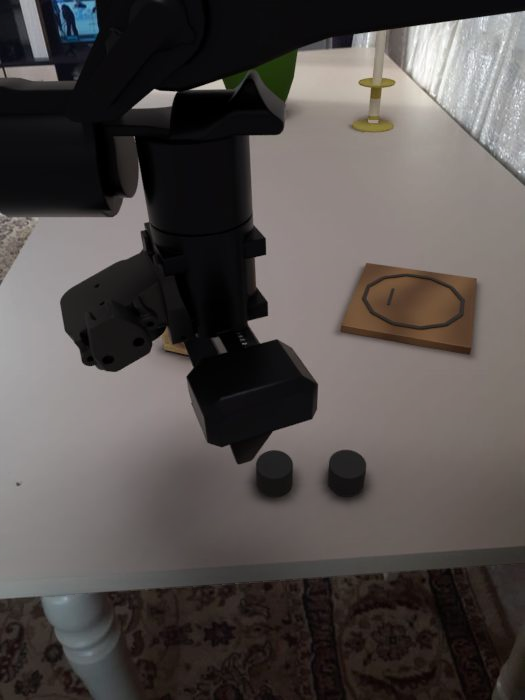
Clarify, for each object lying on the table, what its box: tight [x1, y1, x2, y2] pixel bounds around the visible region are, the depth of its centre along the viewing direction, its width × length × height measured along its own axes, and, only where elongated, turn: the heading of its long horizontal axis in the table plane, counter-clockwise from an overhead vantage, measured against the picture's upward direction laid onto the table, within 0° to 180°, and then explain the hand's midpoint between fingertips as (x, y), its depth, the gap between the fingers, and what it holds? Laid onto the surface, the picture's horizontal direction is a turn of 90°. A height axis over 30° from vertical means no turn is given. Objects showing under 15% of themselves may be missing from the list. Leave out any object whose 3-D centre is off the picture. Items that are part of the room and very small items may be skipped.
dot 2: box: [327, 449, 367, 497], centre depth 47 cm, size 3×3×2 cm
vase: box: [221, 49, 299, 103], centre depth 132 cm, size 20×20×24 cm
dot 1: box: [255, 449, 294, 498], centre depth 48 cm, size 3×3×2 cm
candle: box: [351, 30, 397, 133], centre depth 123 cm, size 10×10×27 cm
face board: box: [340, 262, 478, 355], centre depth 69 cm, size 15×16×1 cm
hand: (222, 415), depth 39 cm, fingers open, 9 cm apart
